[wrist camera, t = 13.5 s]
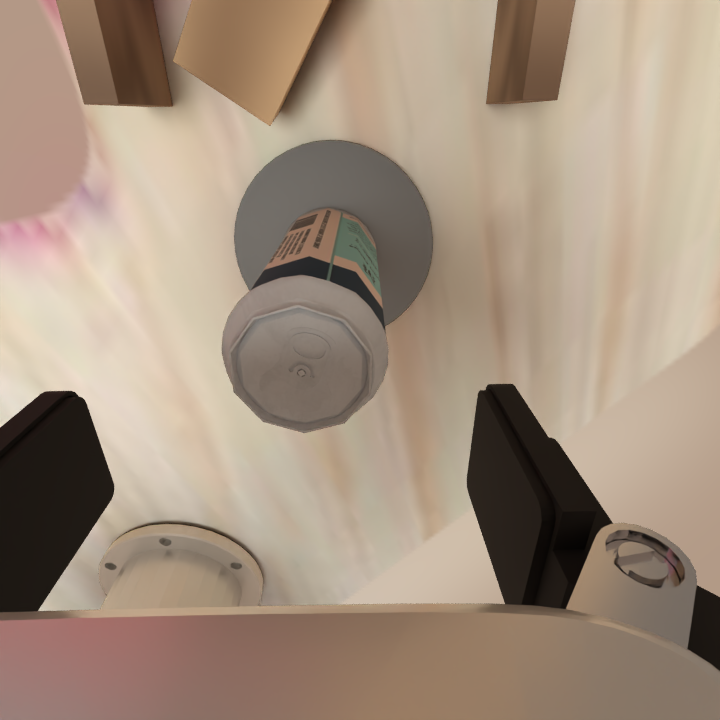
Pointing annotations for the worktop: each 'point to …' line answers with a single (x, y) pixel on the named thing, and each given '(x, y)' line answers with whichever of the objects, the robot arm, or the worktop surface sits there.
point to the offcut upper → (250, 48)
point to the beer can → (311, 326)
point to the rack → (149, 79)
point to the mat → (344, 192)
